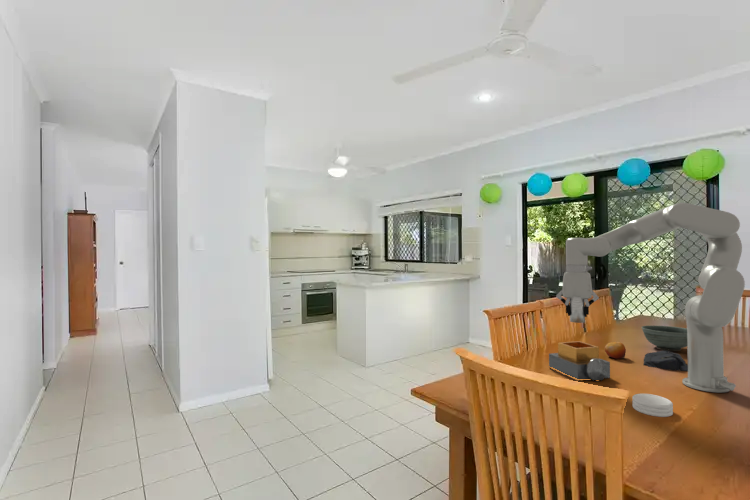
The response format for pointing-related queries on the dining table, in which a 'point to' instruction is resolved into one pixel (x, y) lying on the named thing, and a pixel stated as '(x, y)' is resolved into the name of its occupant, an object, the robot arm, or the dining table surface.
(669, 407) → the coaster
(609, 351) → the fruit
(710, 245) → the robot arm
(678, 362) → the dark slate chunk
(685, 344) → the bowl
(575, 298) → the spout can
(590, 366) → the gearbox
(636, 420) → the dining table surface
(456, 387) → the dining table surface
